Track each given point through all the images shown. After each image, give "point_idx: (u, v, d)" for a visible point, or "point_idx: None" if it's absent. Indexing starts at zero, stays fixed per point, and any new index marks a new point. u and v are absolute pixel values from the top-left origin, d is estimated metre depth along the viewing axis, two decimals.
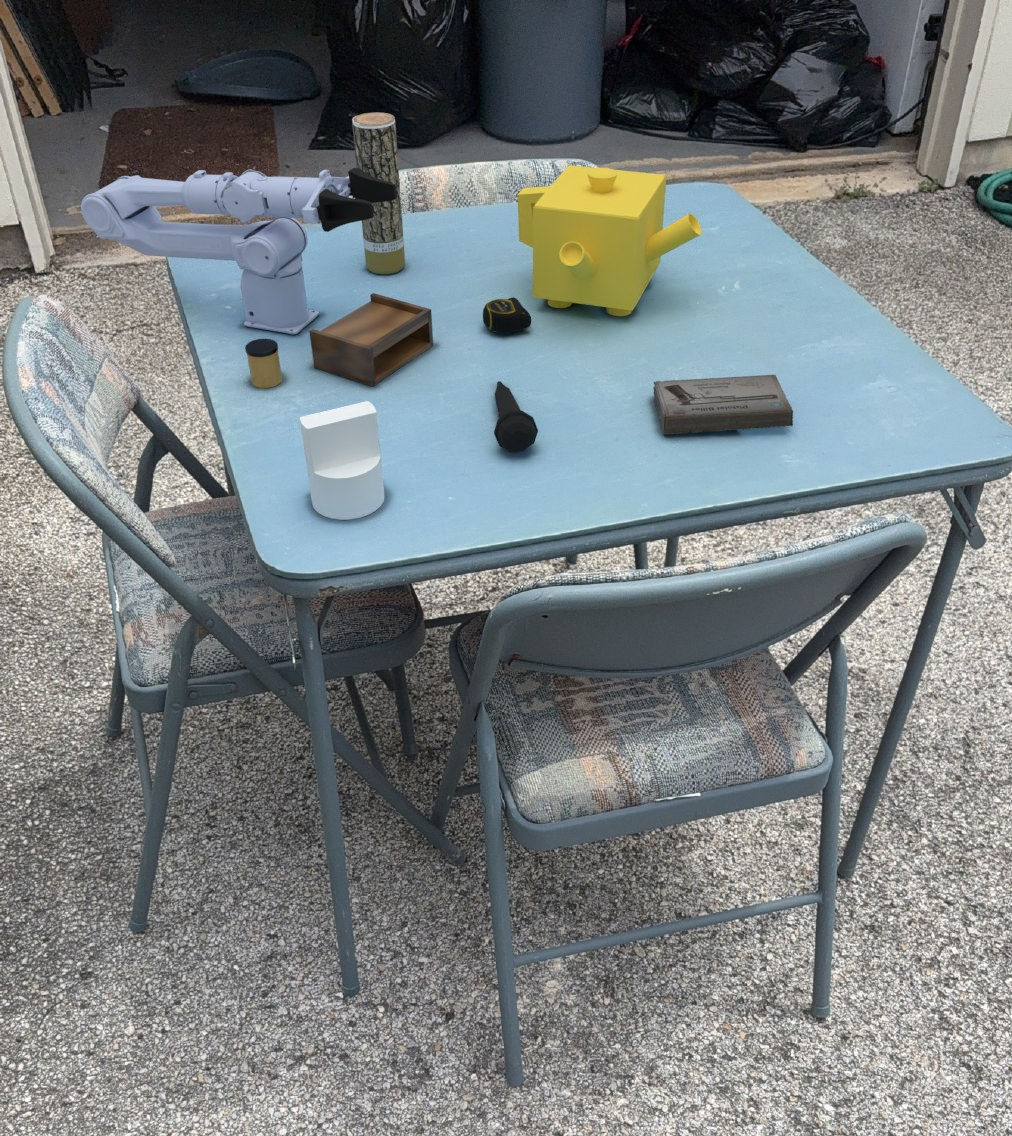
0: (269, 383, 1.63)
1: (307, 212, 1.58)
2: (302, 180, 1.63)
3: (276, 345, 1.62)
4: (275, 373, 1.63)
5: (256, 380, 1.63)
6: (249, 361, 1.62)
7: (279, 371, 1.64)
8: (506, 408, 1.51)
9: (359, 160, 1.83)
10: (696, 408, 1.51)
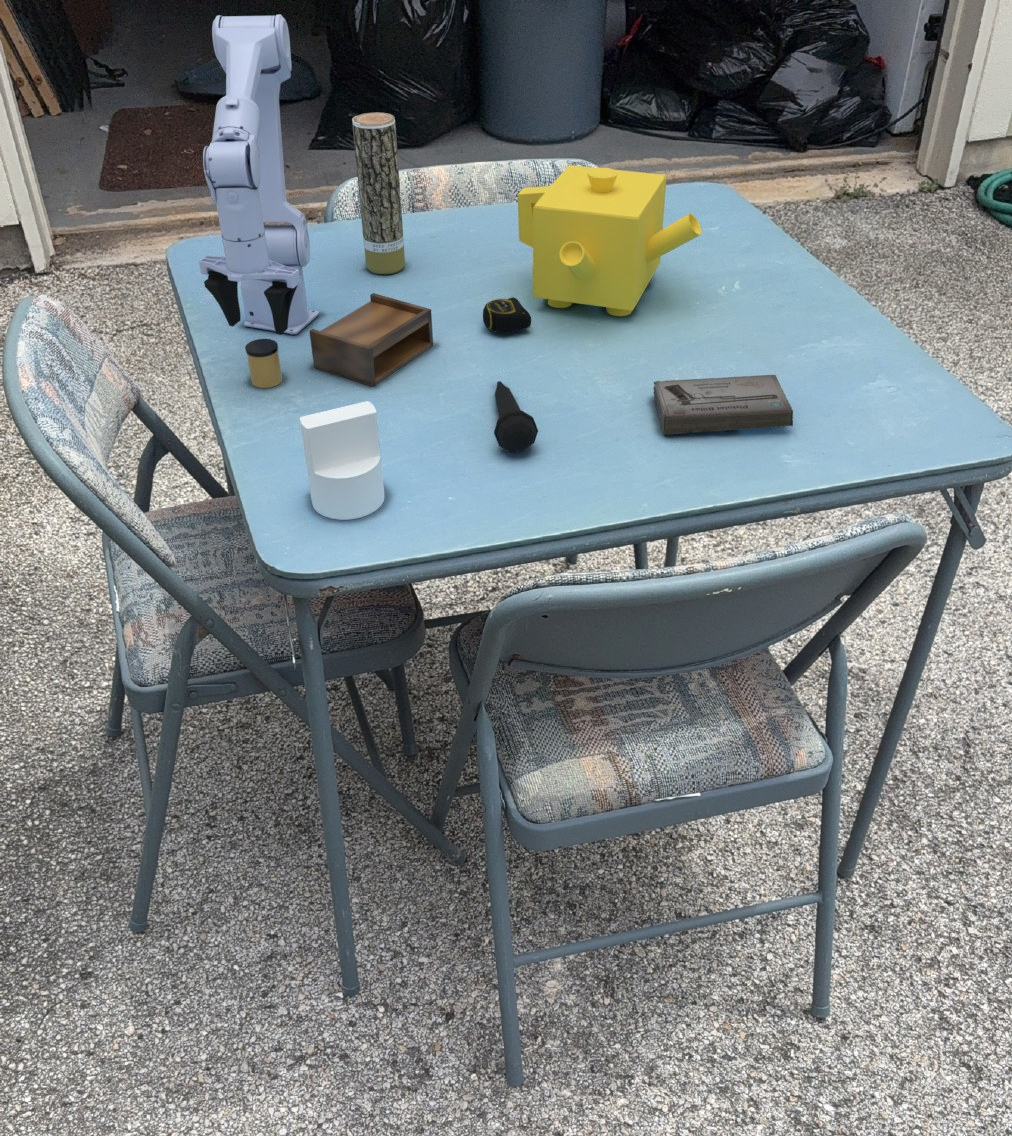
0: (269, 383, 1.63)
1: None
2: (229, 250, 1.50)
3: (276, 345, 1.62)
4: (275, 373, 1.63)
5: (256, 380, 1.63)
6: (249, 361, 1.62)
7: (279, 371, 1.64)
8: (506, 408, 1.51)
9: (359, 160, 1.83)
10: (697, 407, 1.51)
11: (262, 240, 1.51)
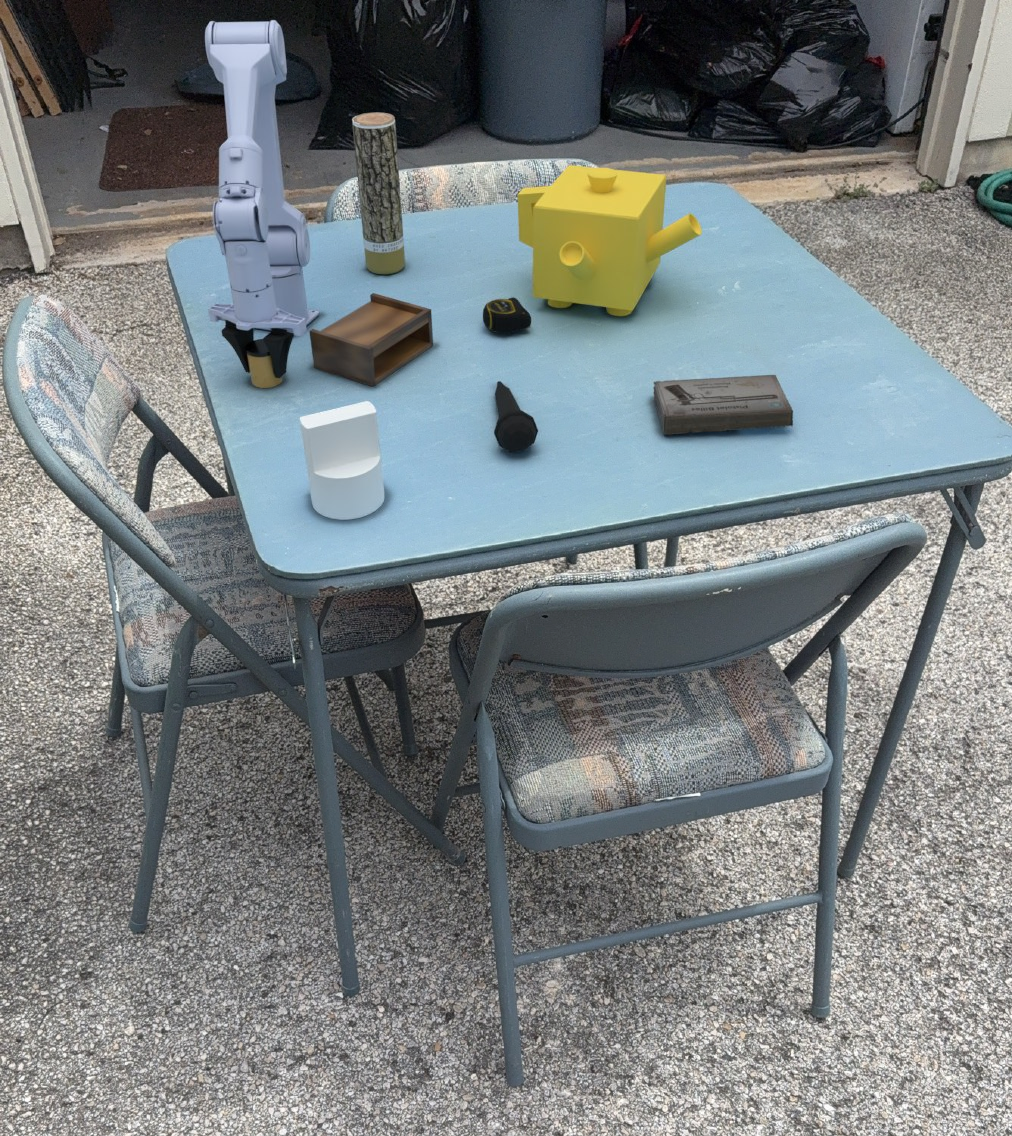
0: (269, 383, 1.63)
1: None
2: (238, 299, 1.55)
3: None
4: None
5: (256, 380, 1.63)
6: (249, 361, 1.62)
7: None
8: (506, 408, 1.51)
9: (359, 160, 1.83)
10: (697, 407, 1.51)
11: (270, 290, 1.55)
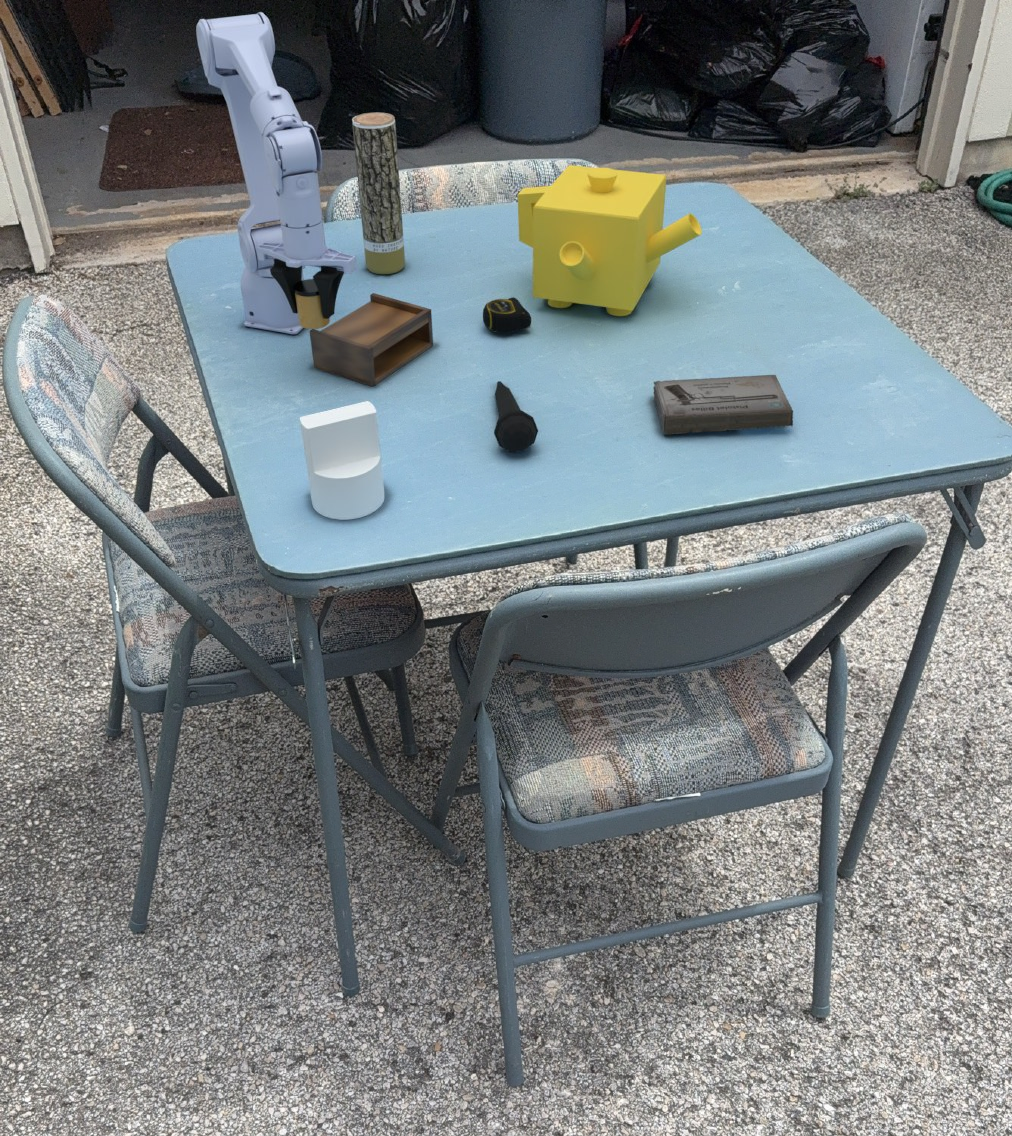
0: (317, 324, 1.61)
1: None
2: (288, 236, 1.53)
3: None
4: None
5: (304, 321, 1.61)
6: (297, 301, 1.60)
7: None
8: (506, 408, 1.51)
9: (359, 160, 1.83)
10: (697, 407, 1.51)
11: (320, 227, 1.53)
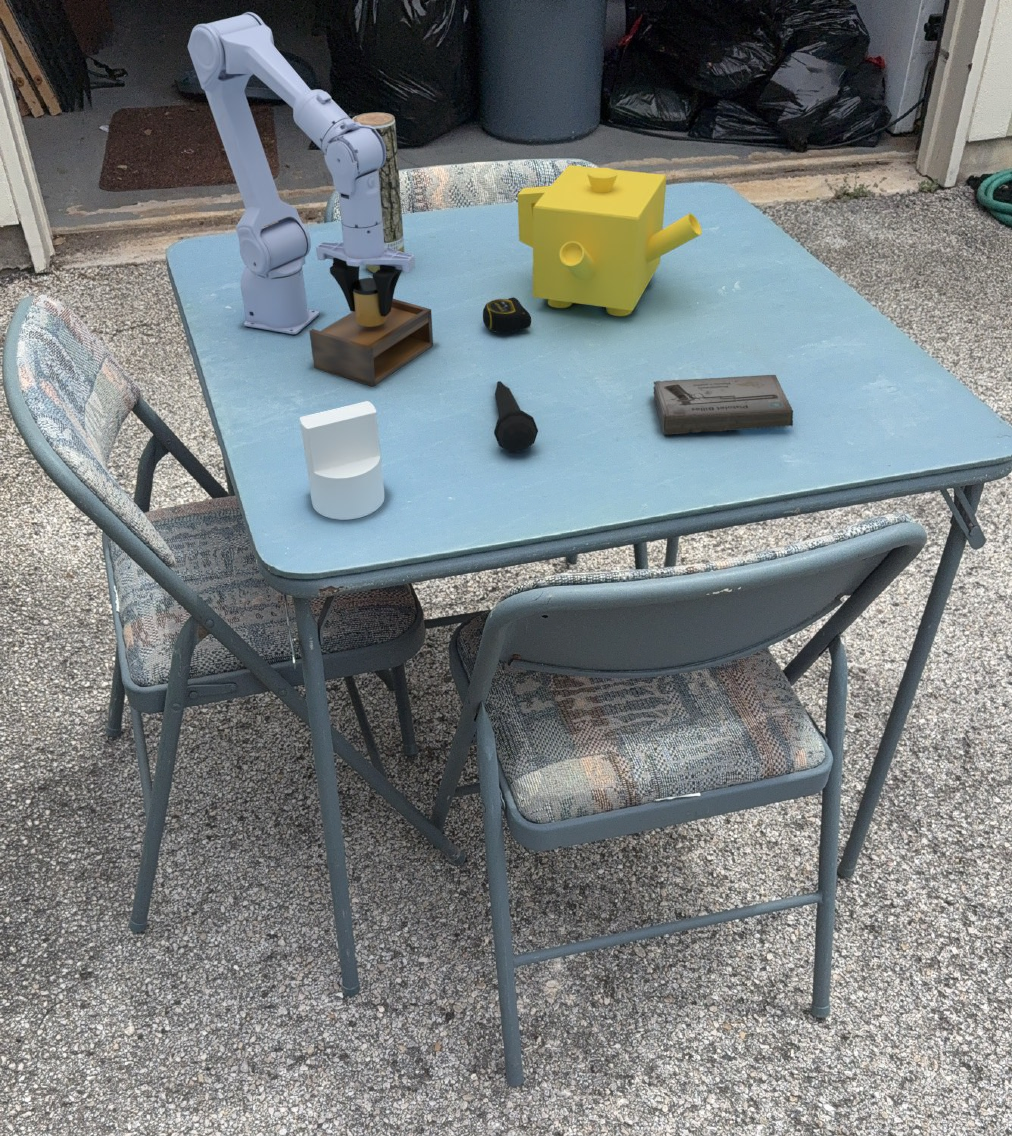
0: (375, 322, 1.65)
1: None
2: (349, 236, 1.57)
3: None
4: None
5: (362, 319, 1.65)
6: (356, 299, 1.63)
7: None
8: (506, 408, 1.51)
9: None
10: (697, 407, 1.51)
11: (380, 227, 1.57)
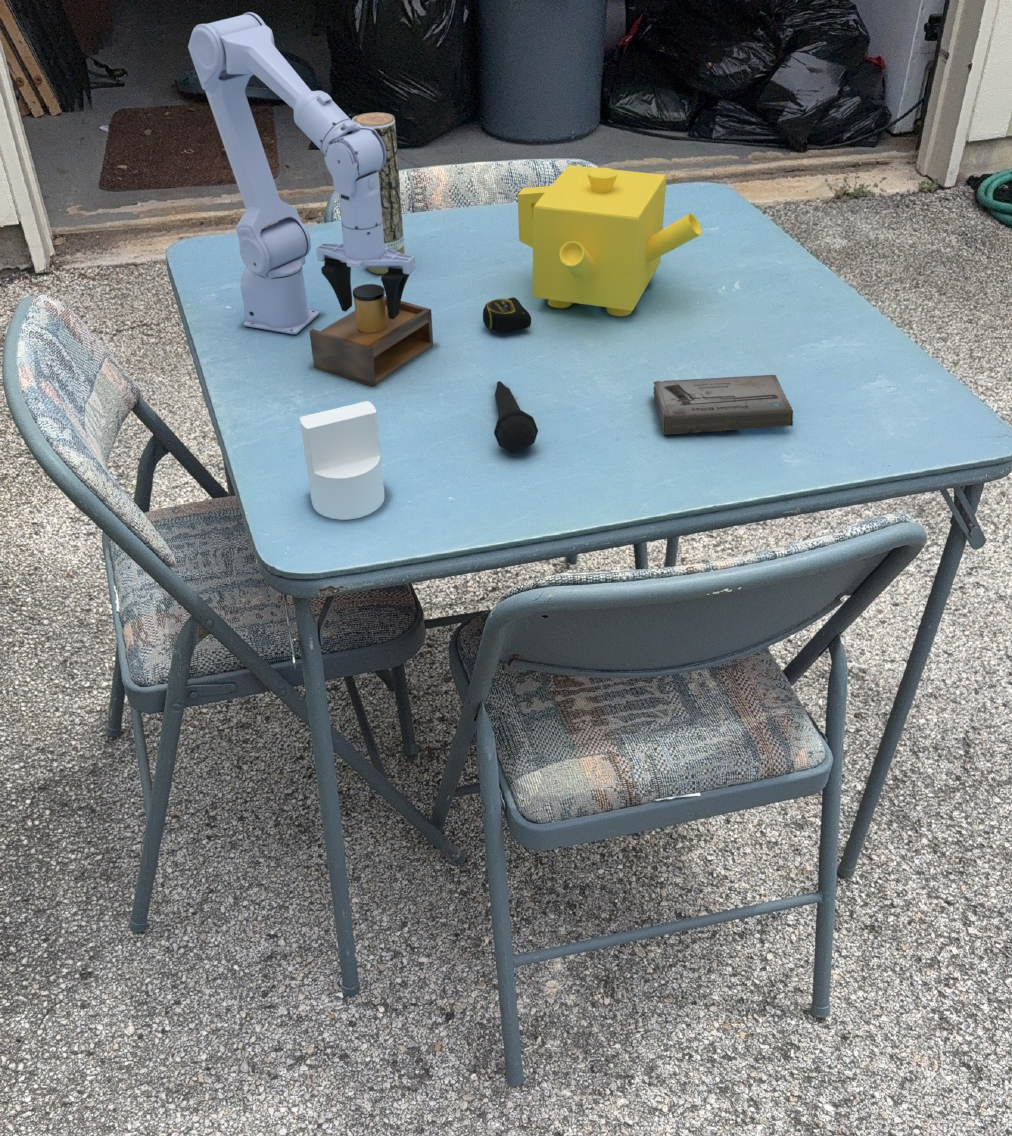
0: (375, 328, 1.65)
1: None
2: (349, 237, 1.57)
3: (383, 290, 1.64)
4: (381, 318, 1.65)
5: (362, 325, 1.65)
6: (356, 306, 1.64)
7: (385, 316, 1.66)
8: (506, 408, 1.51)
9: None
10: (697, 407, 1.51)
11: (380, 228, 1.57)
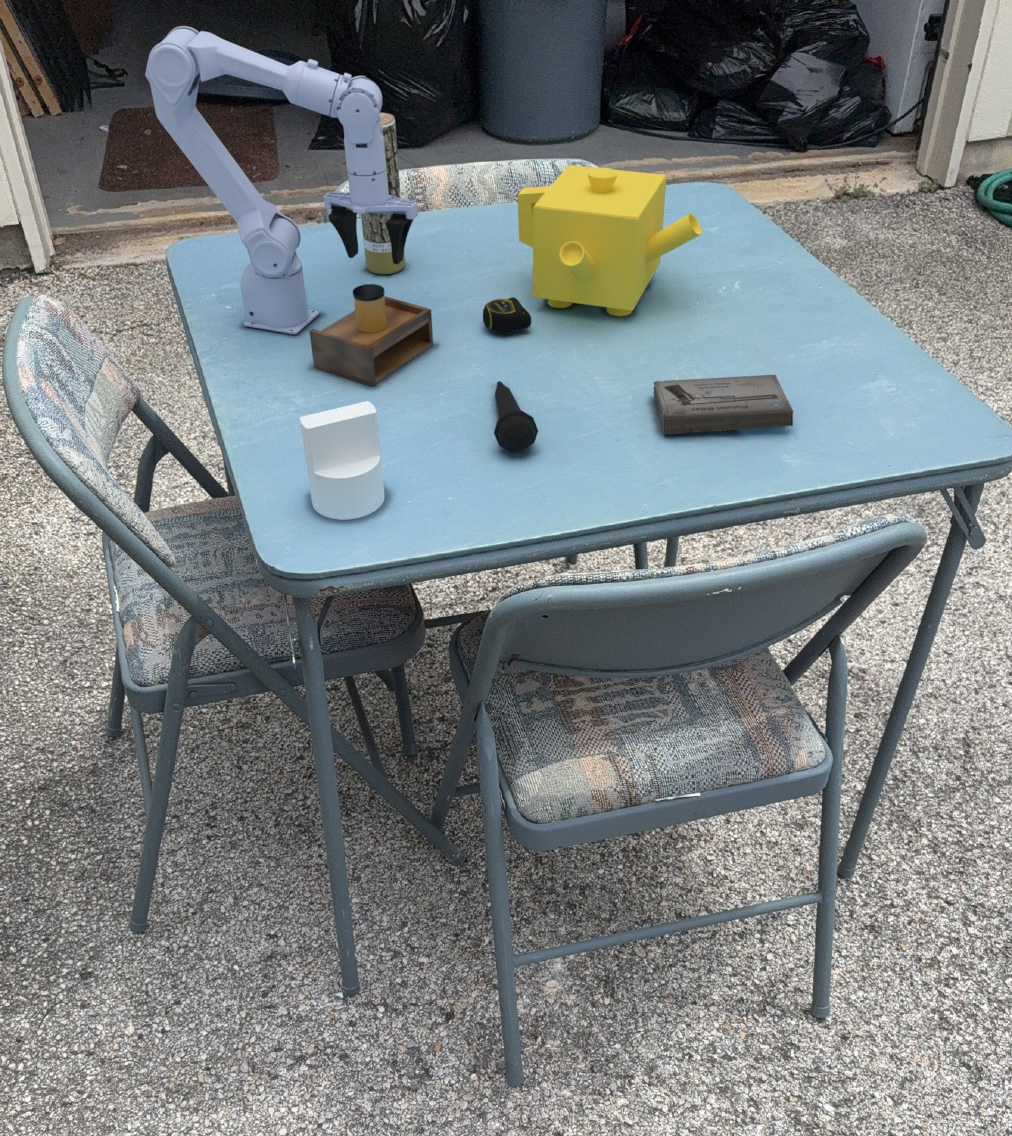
0: (375, 328, 1.65)
1: None
2: (355, 184, 1.64)
3: (383, 290, 1.64)
4: (381, 318, 1.65)
5: (362, 325, 1.65)
6: (356, 306, 1.64)
7: (385, 316, 1.66)
8: (506, 408, 1.51)
9: None
10: (697, 407, 1.51)
11: (384, 175, 1.65)
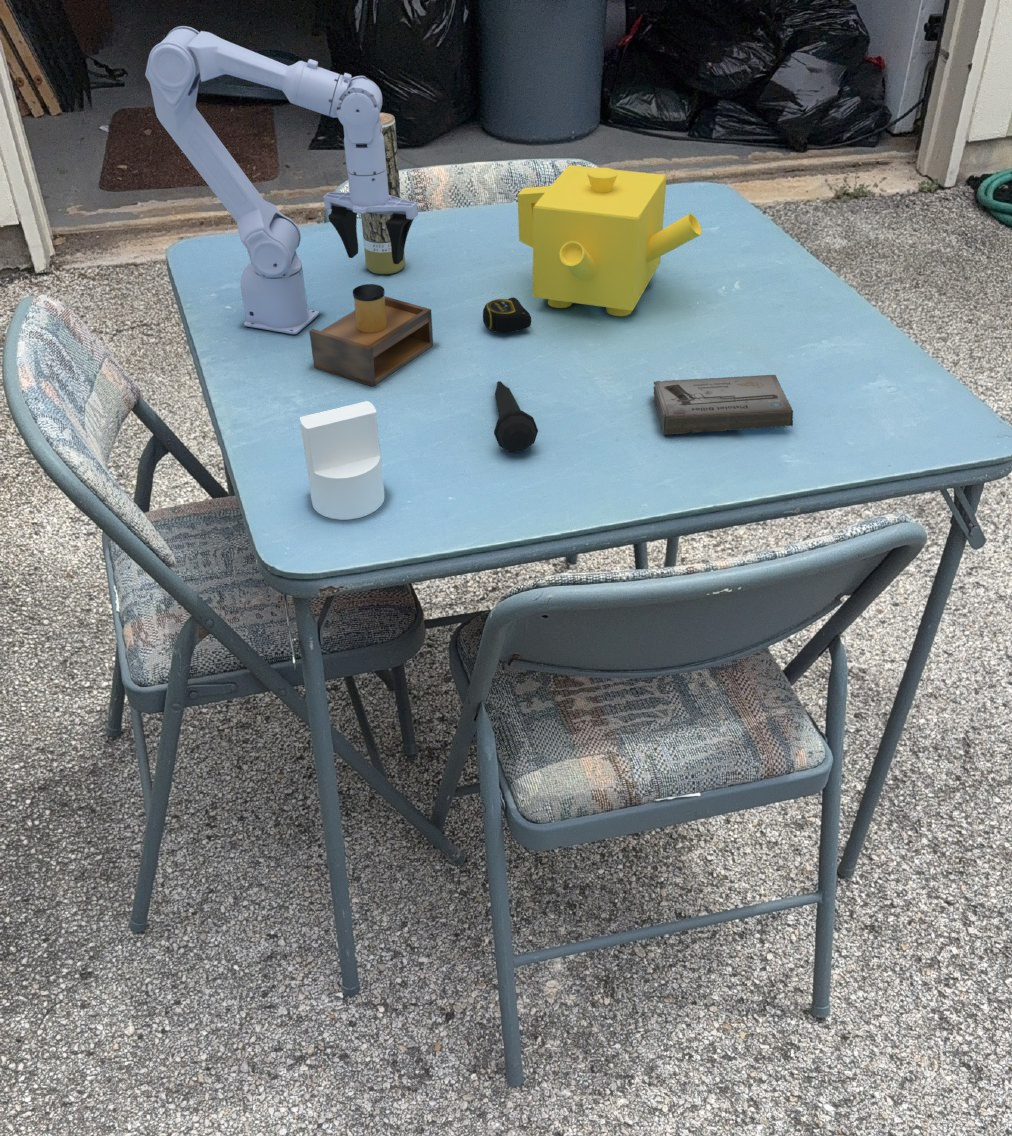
0: (375, 328, 1.65)
1: None
2: (355, 184, 1.64)
3: (383, 290, 1.64)
4: (381, 318, 1.65)
5: (362, 325, 1.65)
6: (356, 306, 1.64)
7: (385, 316, 1.66)
8: (506, 408, 1.51)
9: None
10: (697, 407, 1.51)
11: (384, 175, 1.65)
